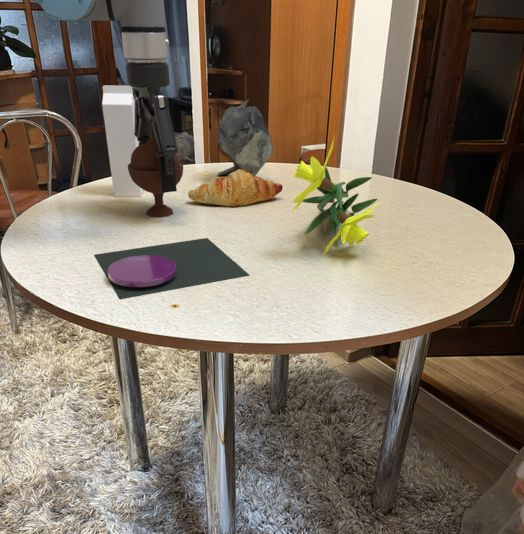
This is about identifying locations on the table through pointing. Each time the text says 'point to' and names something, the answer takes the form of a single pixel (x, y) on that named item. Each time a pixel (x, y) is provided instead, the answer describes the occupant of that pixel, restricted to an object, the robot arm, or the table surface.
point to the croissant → (235, 190)
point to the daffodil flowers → (332, 191)
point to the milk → (120, 137)
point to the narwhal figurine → (244, 139)
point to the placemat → (178, 266)
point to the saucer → (142, 271)
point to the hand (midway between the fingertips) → (158, 183)
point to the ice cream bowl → (151, 175)
